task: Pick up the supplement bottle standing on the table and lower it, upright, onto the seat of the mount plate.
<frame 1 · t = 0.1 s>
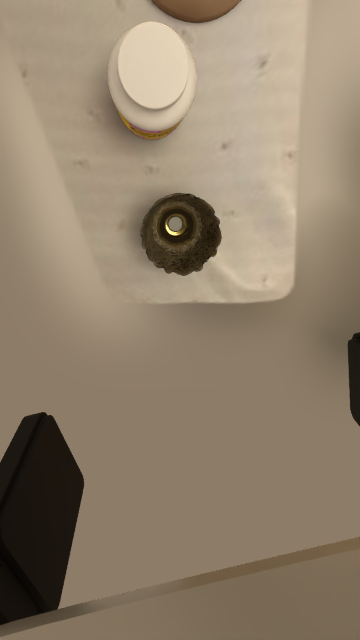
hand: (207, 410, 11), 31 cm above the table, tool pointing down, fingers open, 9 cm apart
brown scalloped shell: (175, 223, 39), on the table
supplement bottle: (151, 103, 34), on the table
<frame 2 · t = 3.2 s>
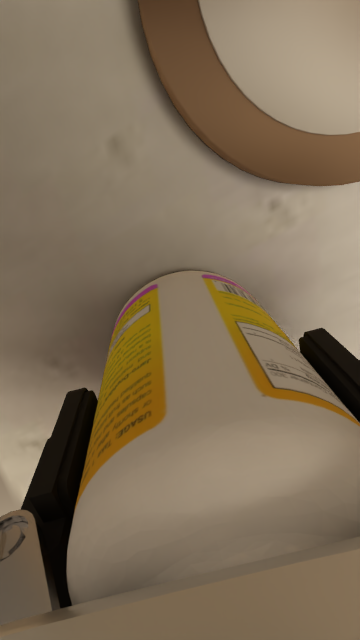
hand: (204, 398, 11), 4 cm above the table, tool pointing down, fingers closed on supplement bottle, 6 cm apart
supplement bottle: (189, 337, 15), on the table, touching gripper
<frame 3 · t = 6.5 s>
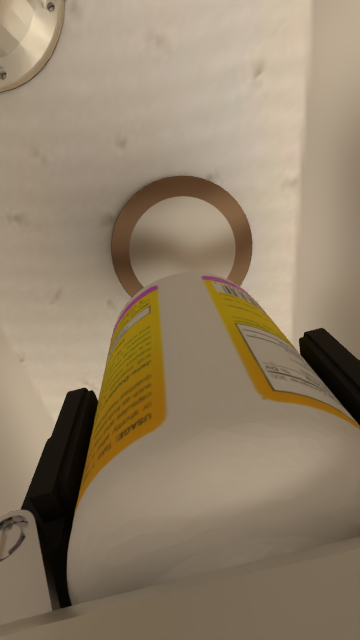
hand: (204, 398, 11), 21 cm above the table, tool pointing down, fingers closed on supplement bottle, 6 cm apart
mount plate: (181, 249, 30), on the table
supplement bottle: (189, 338, 15), point 17 cm above the table, touching gripper
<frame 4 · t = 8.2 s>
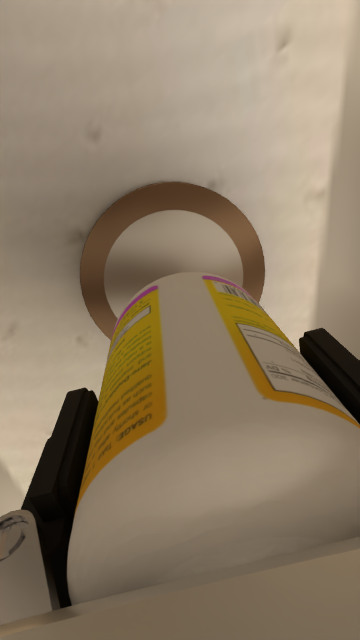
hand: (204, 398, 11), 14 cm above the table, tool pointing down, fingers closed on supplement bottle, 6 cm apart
mount plate: (172, 275, 24), on the table
supplement bottle: (189, 338, 15), point 9 cm above the table, touching gripper
when the fingers open (7 cm above the table, at t = 9.9 s): supplement bottle drops 1 cm, resting on mount plate.
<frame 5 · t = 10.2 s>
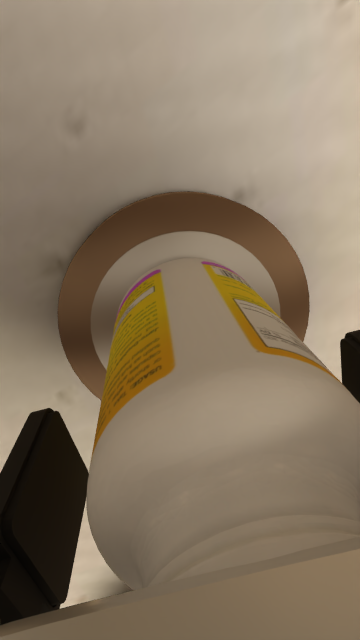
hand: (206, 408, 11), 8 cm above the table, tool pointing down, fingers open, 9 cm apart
mount plate: (184, 314, 18), on the table
supplement bottle: (187, 322, 16), point 2 cm above the table, touching mount plate
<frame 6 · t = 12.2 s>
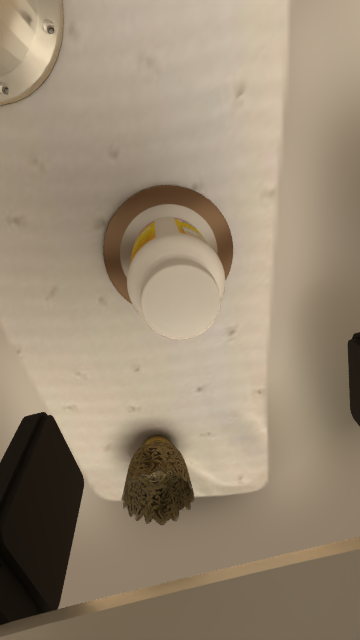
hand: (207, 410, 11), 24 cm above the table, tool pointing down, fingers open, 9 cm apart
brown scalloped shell: (157, 443, 43), on the table
mount plate: (168, 251, 33), on the table
supplement bottle: (169, 252, 31), point 2 cm above the table, touching mount plate
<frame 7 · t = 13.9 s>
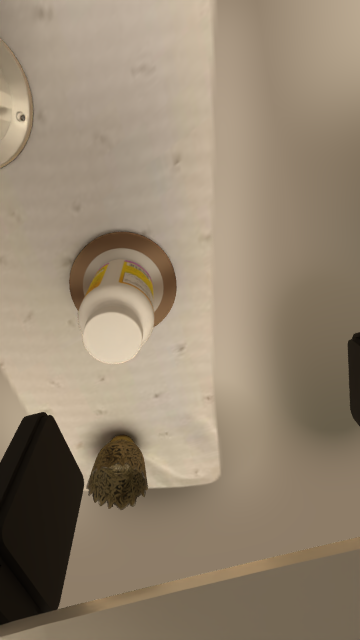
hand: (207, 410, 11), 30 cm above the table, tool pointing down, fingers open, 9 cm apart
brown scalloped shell: (122, 441, 50), on the table
mount plate: (124, 283, 40), on the table
supplement bottle: (124, 285, 39), point 2 cm above the table, touching mount plate
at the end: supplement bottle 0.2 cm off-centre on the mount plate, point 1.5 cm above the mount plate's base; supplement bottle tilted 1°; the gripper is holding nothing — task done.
